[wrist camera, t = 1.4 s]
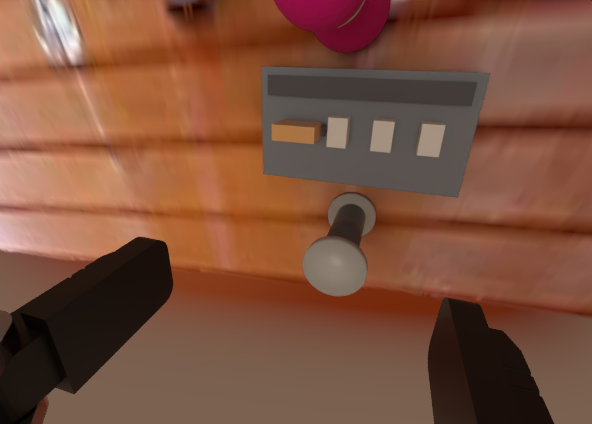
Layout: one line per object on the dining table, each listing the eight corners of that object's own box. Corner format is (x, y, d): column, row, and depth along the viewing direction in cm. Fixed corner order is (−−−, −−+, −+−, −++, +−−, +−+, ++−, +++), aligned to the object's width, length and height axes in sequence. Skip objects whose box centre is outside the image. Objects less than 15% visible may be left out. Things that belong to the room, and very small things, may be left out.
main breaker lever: (327, 121, 33) (318, 127, 30) (326, 137, 34) (317, 144, 31) (281, 118, 35) (267, 123, 31) (281, 133, 35) (268, 140, 32)
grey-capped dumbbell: (379, 195, 38) (370, 247, 27) (372, 237, 41) (362, 301, 30) (331, 189, 40) (303, 236, 29) (327, 230, 43) (301, 289, 31)
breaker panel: (482, 72, 31) (496, 73, 26) (453, 188, 36) (461, 204, 31) (271, 66, 36) (253, 66, 32) (272, 167, 41) (256, 178, 37)
